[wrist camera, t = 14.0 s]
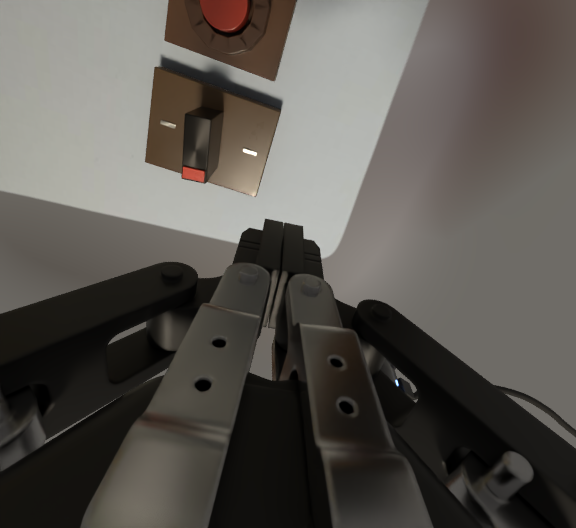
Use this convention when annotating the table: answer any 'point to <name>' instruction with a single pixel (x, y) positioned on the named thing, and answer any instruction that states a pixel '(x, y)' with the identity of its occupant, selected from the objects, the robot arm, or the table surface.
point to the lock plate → (234, 138)
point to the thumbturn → (201, 143)
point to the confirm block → (234, 35)
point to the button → (226, 13)
